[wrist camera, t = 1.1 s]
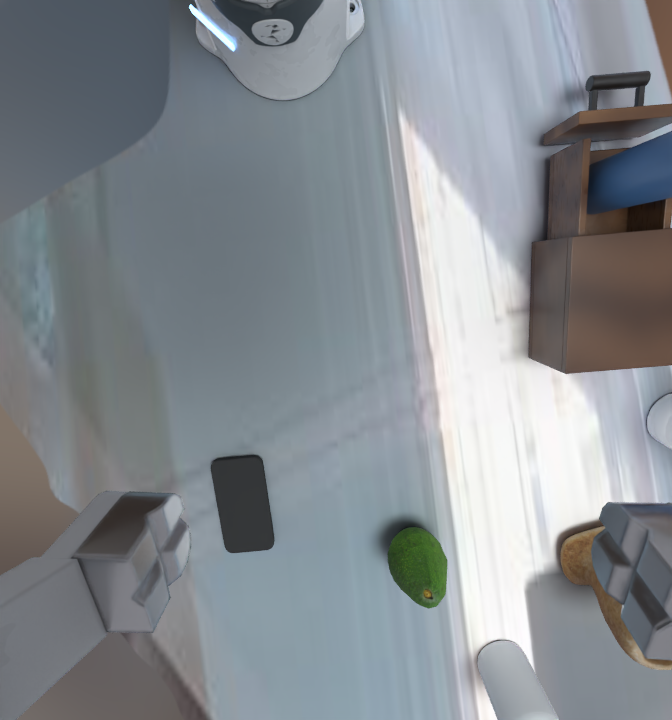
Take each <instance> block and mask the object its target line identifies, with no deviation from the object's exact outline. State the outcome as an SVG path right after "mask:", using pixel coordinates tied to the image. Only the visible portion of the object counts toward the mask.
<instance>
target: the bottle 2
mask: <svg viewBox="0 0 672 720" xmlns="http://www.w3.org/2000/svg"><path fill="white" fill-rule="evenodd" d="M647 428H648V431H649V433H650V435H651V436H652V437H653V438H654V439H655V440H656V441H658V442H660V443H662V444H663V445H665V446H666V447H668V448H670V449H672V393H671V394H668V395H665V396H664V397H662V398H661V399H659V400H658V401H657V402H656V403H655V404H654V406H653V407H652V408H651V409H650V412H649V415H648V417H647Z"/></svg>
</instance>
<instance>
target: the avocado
mask: <svg viewBox="0 0 672 720" xmlns="http://www.w3.org/2000/svg"><path fill="white" fill-rule="evenodd" d="M388 564H389V569H390V573H391V575H392V577H393V579H394V581H395V582H396V583H397V585H398V586H399V587H400V588H401V590H402V591H404V592H405V593H406V594H407V595H408V596H409V597H410V598H411V599H412V600H413V601H415V602H416V603H417V604H419V605H421V606H424V607H426V608H432V607H436V606H437V605H438V604H439V603H440V601H441V600H442V599H443V597H444V596H445V593H446V581H447V559H446V556H445V554H444V552H443V550H442V547H441V545H440V543H439V542H438V540H437V539H436V538H435V537H434V536H433V535H432V534H430V533H429V532H427V531H426V530H424V529H421V528H417V527H411V528H406V529H404V530H402V531H400V532H399V533H398V534H397V535H396V536H395V537H394V539H393V540H392V542H391V545H390V547H389V551H388Z"/></svg>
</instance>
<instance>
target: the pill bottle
mask: <svg viewBox="0 0 672 720" xmlns="http://www.w3.org/2000/svg"><path fill="white" fill-rule="evenodd" d="M477 663H478V669H479V672H480V675H481V677H482V680H483V683H484V685H485V688H486V691H487V693H488V696H489V698H490V701H491V704H492V706H493V709H494V711H495V714H496V717H497V719H498V720H559V718H558V716H557V714H556V712H555V711H554V709H553V707H552V705H551V703H550V701H549V699H548V697H547V695H546V693H545V691H544V690H543V688H542V686H541V684H540V682H539V680H538V678H537V676H536V674H535V672H534V670H533V668H532V667H531V665H530V663H529V661H528V659H527V657H526V655H525V653H524V652H523V650H522V649H521V648H520V647H519V646H518V645H517V644H515V643H513V642H510V641H504V640H502V641H496V642H493V643H490V644H488V645H487V646H486V647H484V648H483V649H482V651H481V652H480V654H479V656H478V662H477Z"/></svg>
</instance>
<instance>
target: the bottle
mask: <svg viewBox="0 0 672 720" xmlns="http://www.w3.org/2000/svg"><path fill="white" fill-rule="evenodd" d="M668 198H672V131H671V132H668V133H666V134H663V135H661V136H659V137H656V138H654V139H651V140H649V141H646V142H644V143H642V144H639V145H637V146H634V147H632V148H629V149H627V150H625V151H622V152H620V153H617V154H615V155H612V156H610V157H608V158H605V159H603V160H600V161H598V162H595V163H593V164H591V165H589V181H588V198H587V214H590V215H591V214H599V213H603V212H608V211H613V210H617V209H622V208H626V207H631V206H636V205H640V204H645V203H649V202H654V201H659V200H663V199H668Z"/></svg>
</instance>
